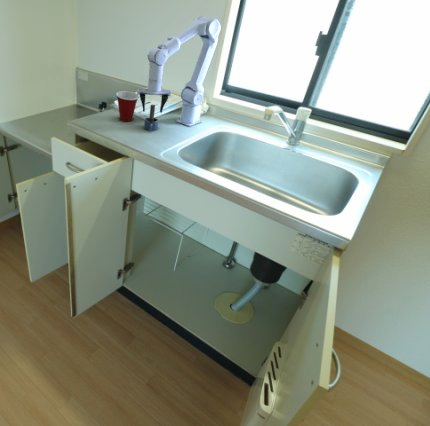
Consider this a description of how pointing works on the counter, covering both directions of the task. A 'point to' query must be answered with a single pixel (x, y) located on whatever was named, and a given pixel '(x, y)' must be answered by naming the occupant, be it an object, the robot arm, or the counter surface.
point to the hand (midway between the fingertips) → (152, 111)
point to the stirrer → (152, 113)
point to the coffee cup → (151, 124)
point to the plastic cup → (126, 104)
